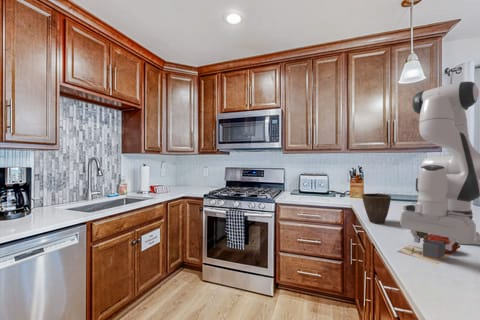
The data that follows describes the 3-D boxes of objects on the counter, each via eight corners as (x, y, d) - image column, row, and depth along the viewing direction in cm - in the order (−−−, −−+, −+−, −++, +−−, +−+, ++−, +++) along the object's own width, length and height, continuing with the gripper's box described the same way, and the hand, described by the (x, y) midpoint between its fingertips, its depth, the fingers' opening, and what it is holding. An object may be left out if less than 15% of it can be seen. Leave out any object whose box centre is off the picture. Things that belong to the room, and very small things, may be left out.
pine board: (409, 248, 100) (409, 244, 100) (449, 259, 89) (449, 255, 89) (396, 255, 93) (396, 251, 93) (438, 267, 82) (438, 263, 82)
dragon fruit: (419, 253, 97) (456, 262, 92) (426, 247, 91) (466, 257, 86) (419, 233, 102) (455, 241, 96) (425, 226, 95) (464, 234, 90)
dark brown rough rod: (415, 236, 115) (415, 226, 114) (425, 237, 113) (425, 227, 113) (430, 251, 97) (430, 239, 97) (442, 252, 95) (442, 240, 95)
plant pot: (371, 226, 132) (370, 197, 132) (357, 219, 147) (357, 193, 147) (397, 225, 133) (397, 197, 132) (381, 218, 148) (380, 193, 147)
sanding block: (430, 252, 92) (430, 239, 92) (444, 256, 88) (444, 242, 88) (423, 256, 88) (422, 243, 88) (437, 261, 84) (437, 247, 84)
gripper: (473, 213, 81) (472, 253, 81) (405, 203, 98) (405, 236, 98) (467, 215, 77) (467, 257, 77) (398, 205, 94) (398, 239, 94)
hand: (432, 245), depth 88 cm, fingers open, 8 cm apart
